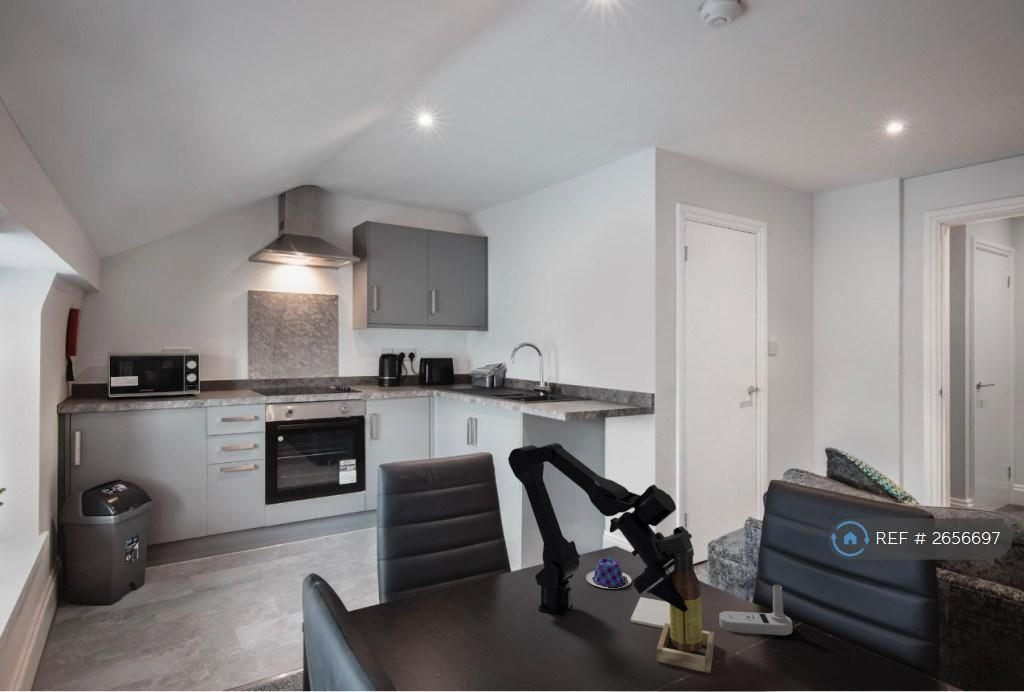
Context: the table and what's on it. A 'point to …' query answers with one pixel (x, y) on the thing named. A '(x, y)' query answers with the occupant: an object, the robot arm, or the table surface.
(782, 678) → the table surface
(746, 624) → the electronic device
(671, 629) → the sauce bottle
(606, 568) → the pudding
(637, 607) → the coaster
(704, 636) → the bottle holder
